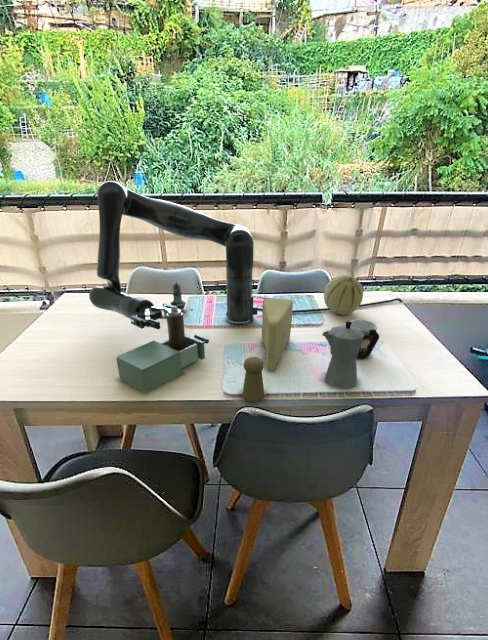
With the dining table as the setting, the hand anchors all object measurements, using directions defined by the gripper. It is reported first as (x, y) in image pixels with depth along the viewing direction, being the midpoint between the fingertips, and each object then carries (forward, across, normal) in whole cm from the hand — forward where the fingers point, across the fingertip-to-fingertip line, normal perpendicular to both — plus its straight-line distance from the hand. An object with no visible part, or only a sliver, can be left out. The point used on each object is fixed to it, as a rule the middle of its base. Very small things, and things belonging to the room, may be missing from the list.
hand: (170, 321), depth 123 cm
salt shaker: (-28, +27, +13) cm, 41 cm away
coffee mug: (+41, +39, +13) cm, 58 cm away
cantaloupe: (+21, +67, +13) cm, 72 cm away
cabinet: (+3, -12, +12) cm, 17 cm away
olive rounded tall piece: (+32, 0, +13) cm, 34 cm away
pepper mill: (+2, 0, +11) cm, 11 cm away
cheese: (+22, +22, +13) cm, 34 cm away
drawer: (+3, +1, +12) cm, 12 cm away
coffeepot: (+47, +22, +13) cm, 53 cm away
